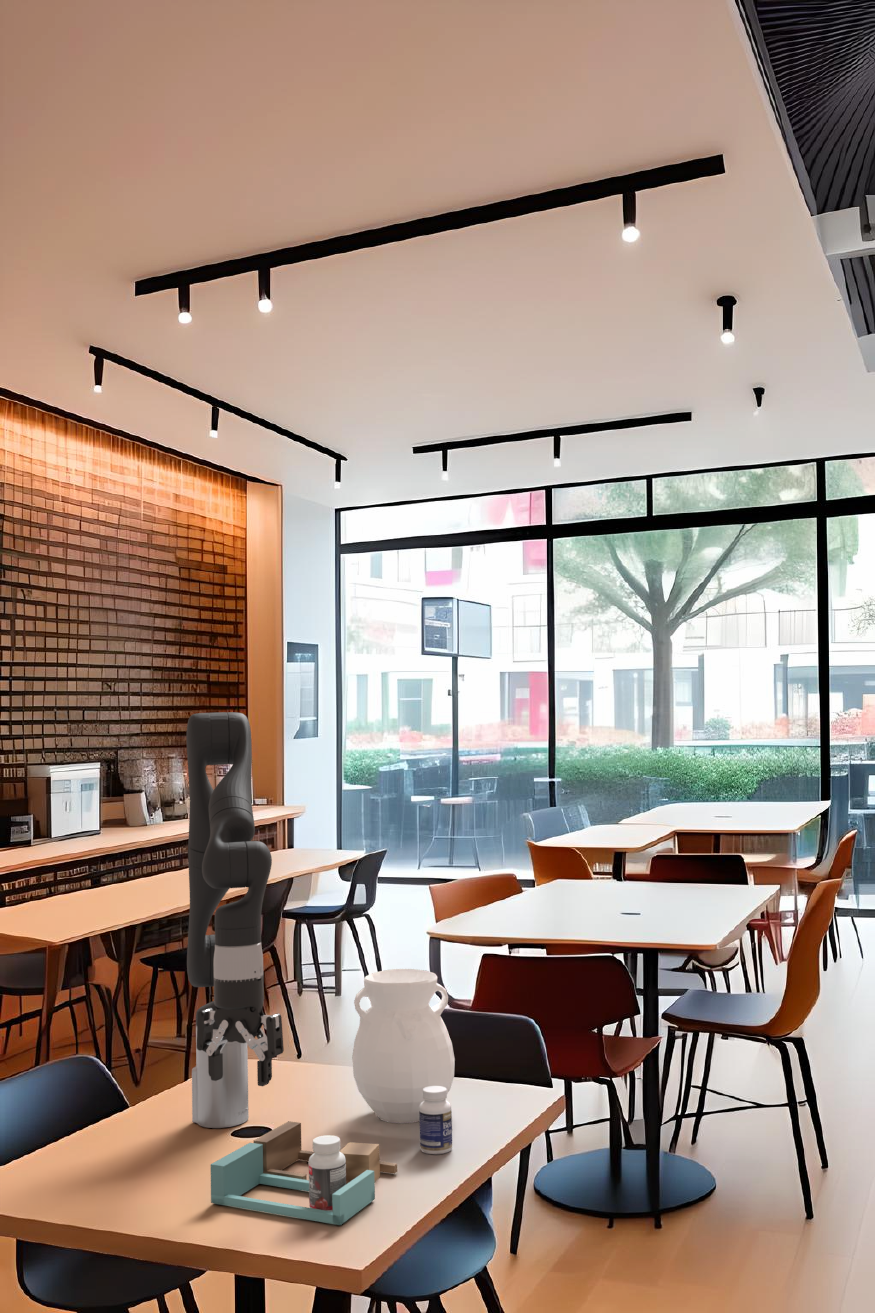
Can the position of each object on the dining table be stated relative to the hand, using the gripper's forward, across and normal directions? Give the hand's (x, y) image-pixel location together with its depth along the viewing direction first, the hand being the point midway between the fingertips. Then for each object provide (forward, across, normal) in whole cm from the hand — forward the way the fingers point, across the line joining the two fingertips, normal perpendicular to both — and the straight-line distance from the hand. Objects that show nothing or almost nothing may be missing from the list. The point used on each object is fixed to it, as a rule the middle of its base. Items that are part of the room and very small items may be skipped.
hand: (240, 1082), depth 173 cm
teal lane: (+16, +9, 0) cm, 19 cm away
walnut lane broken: (+16, +8, +11) cm, 21 cm away
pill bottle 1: (+17, +15, 0) cm, 23 cm away
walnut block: (+16, +14, +10) cm, 24 cm away
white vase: (+16, +7, +42) cm, 45 cm away
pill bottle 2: (+16, +20, +28) cm, 38 cm away
